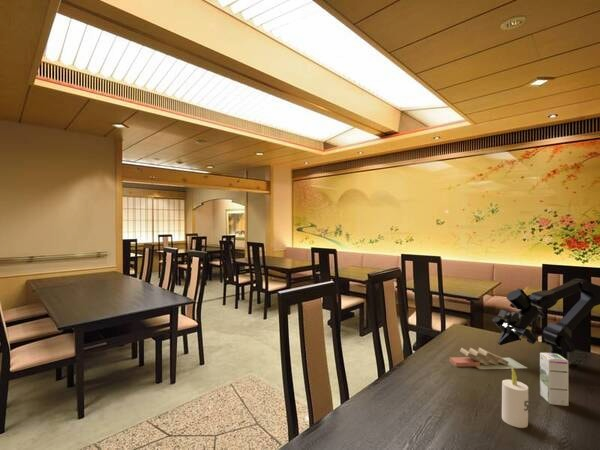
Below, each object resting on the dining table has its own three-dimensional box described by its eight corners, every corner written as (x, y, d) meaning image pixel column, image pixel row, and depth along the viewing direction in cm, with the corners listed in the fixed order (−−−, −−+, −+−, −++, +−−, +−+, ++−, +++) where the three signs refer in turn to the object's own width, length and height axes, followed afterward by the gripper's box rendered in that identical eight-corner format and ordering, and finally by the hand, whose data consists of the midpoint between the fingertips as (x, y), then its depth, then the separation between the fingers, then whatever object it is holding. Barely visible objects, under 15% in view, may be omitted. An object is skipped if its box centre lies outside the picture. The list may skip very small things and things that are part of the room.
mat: (509, 358, 137) (509, 357, 137) (527, 368, 127) (527, 368, 127) (464, 359, 136) (464, 358, 136) (479, 369, 126) (479, 369, 126)
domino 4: (500, 356, 134) (479, 347, 134) (508, 362, 129) (487, 352, 129) (498, 360, 134) (477, 350, 133) (507, 365, 129) (485, 355, 128)
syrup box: (569, 406, 101) (570, 360, 101) (548, 404, 102) (548, 358, 102) (558, 396, 106) (559, 353, 106) (538, 394, 107) (539, 351, 107)
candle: (519, 430, 88) (520, 376, 88) (496, 417, 94) (497, 366, 94) (533, 425, 91) (534, 372, 91) (510, 412, 97) (511, 363, 97)
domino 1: (472, 357, 133) (449, 357, 133) (480, 362, 128) (456, 362, 128) (472, 360, 133) (449, 361, 133) (480, 366, 128) (456, 366, 128)
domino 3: (490, 357, 134) (470, 347, 133) (499, 362, 129) (477, 352, 128) (489, 360, 134) (468, 351, 133) (497, 365, 129) (476, 356, 128)
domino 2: (482, 357, 134) (461, 347, 133) (490, 362, 129) (468, 352, 128) (480, 360, 134) (459, 351, 133) (488, 366, 129) (466, 356, 128)
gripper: (496, 298, 141) (472, 323, 140) (529, 309, 123) (501, 338, 122) (513, 315, 142) (489, 341, 141) (548, 329, 123) (521, 358, 122)
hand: (499, 344), depth 131 cm, fingers closed
